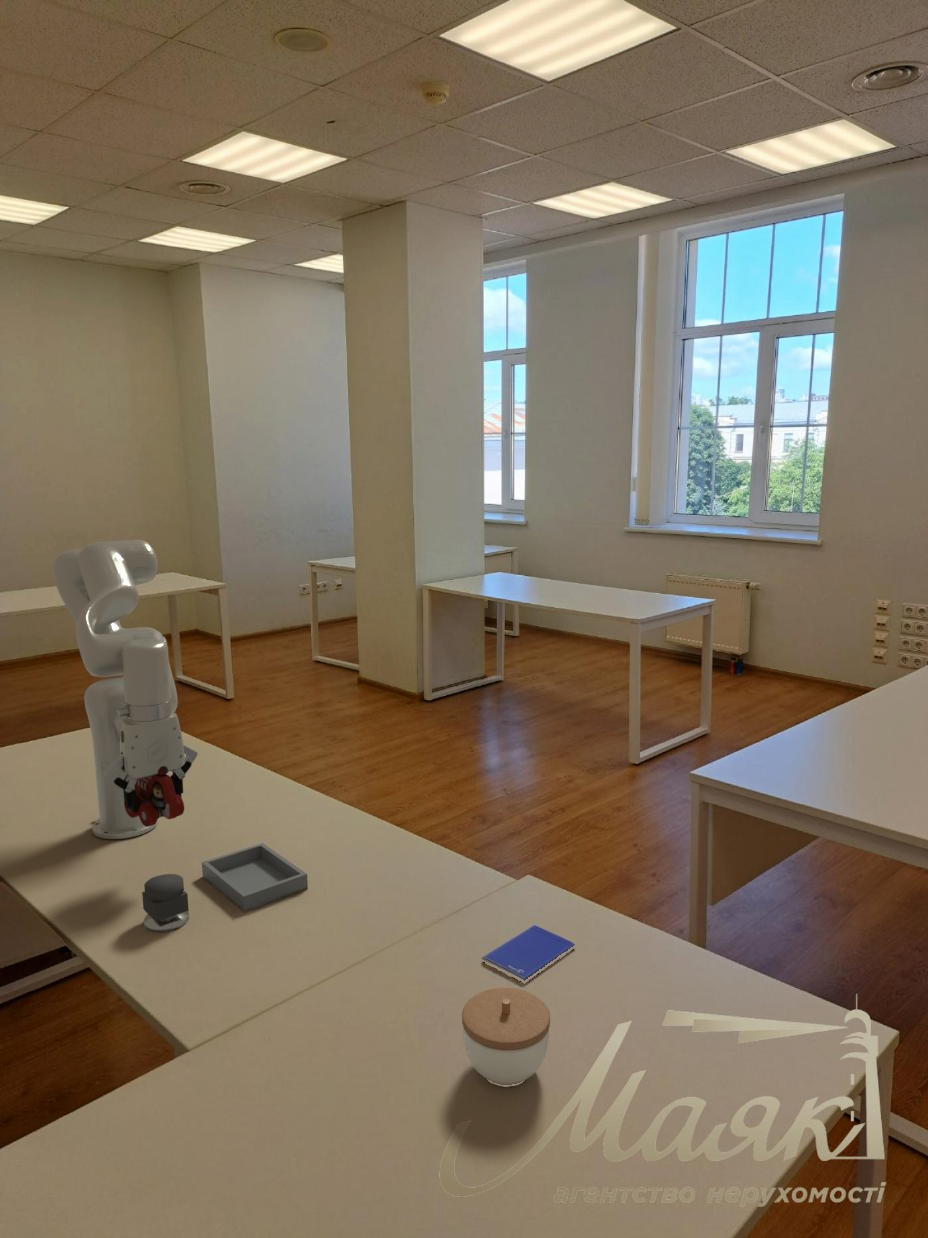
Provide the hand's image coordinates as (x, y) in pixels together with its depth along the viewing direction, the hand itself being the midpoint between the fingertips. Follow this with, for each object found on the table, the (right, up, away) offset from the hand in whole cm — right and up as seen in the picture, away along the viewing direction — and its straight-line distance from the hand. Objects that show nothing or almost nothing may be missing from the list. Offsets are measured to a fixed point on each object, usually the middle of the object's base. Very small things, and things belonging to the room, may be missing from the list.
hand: (154, 803), depth 153 cm
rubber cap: (+7, -15, -13) cm, 21 cm away
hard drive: (+65, -19, -23) cm, 72 cm away
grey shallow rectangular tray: (+18, -14, 0) cm, 23 cm away
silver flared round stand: (+7, -17, -13) cm, 22 cm away
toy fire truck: (0, -3, +1) cm, 3 cm away
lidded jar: (+61, -23, -48) cm, 80 cm away
